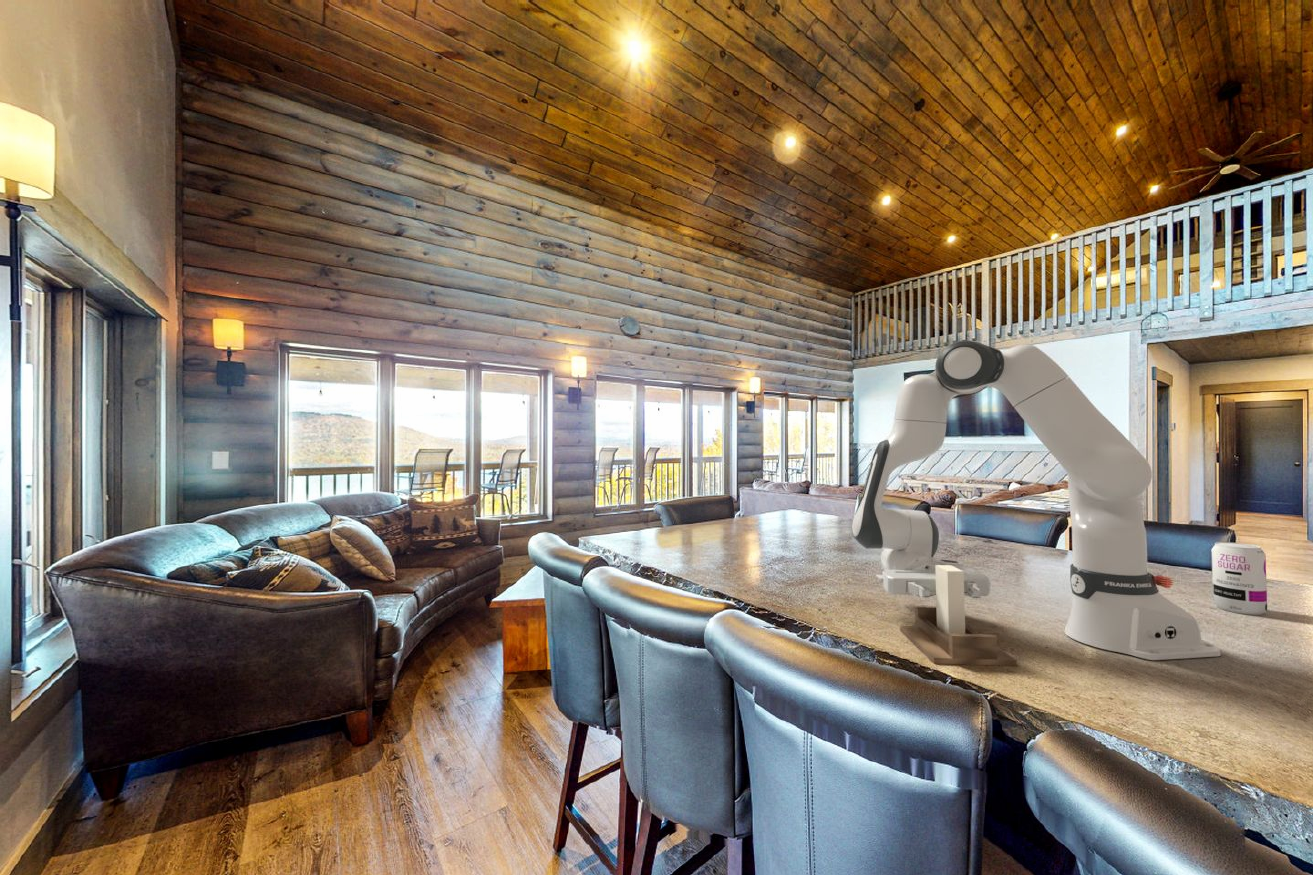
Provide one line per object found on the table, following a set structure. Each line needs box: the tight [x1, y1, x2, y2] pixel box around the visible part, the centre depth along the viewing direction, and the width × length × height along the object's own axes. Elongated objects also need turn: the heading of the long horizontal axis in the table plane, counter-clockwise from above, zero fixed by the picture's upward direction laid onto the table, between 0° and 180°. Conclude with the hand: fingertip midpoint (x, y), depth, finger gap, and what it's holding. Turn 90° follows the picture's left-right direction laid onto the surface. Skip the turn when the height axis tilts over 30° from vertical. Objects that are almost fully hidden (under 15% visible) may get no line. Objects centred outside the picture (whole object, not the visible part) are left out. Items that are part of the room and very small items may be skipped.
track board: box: [899, 606, 1018, 667], centre depth 98 cm, size 14×16×5 cm
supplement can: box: [1210, 541, 1268, 616], centre depth 116 cm, size 8×8×15 cm
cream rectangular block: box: [935, 565, 966, 637], centre depth 99 cm, size 3×5×14 cm, turn 175°
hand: (951, 593), depth 98 cm, fingers open, 8 cm apart
